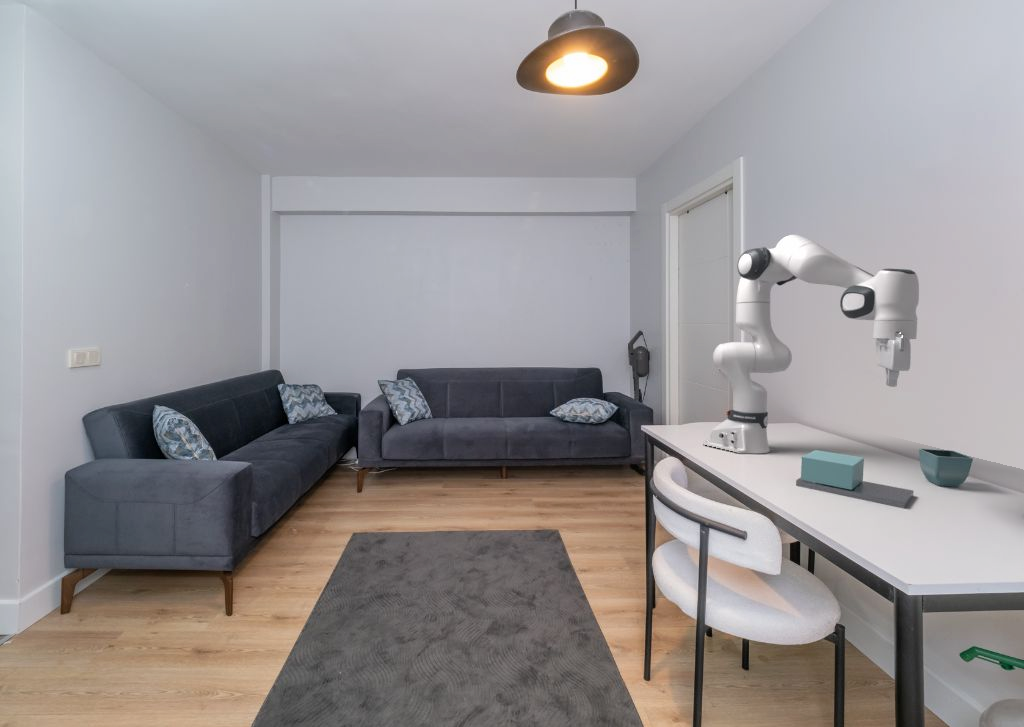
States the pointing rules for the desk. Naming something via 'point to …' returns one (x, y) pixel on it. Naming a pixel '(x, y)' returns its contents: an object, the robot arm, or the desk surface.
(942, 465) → the flower pot
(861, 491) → the housing base
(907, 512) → the desk surface
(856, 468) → the cover
